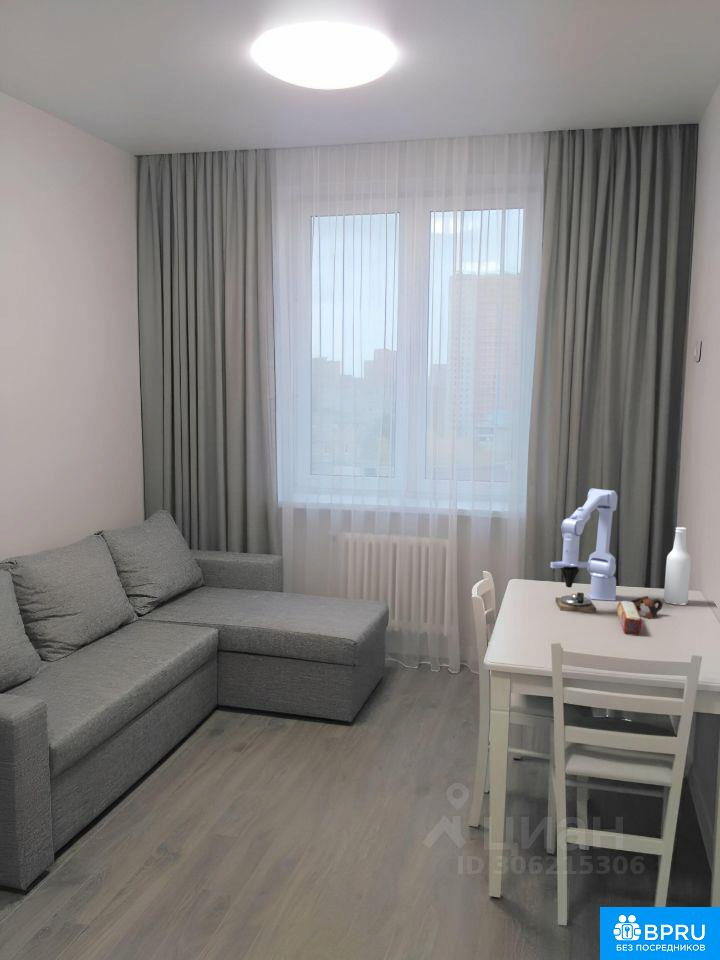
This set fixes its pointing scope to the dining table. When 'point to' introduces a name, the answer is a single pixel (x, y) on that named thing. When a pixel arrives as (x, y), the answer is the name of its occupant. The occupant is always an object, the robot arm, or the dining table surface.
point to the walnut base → (575, 607)
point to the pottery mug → (648, 603)
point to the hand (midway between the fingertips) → (568, 586)
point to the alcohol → (677, 570)
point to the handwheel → (576, 600)
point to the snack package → (629, 618)
